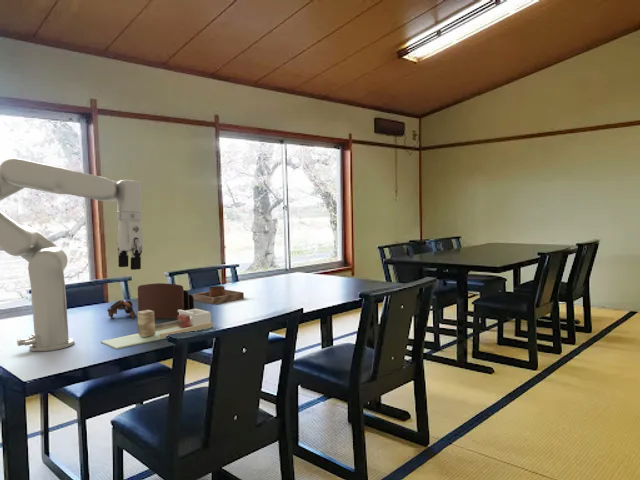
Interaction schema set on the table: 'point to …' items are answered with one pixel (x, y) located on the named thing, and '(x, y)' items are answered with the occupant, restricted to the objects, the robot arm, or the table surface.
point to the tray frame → (221, 299)
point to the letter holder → (164, 299)
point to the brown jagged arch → (121, 308)
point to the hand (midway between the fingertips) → (129, 268)
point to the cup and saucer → (216, 291)
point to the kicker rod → (148, 324)
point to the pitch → (164, 330)
